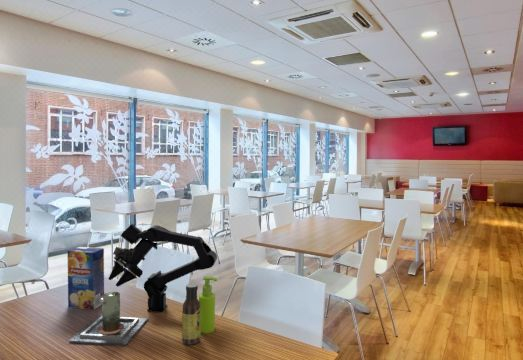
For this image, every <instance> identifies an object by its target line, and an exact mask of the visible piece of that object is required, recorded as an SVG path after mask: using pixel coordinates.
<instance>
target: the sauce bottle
mask: <svg viewBox="0 0 523 360" xmlns="http://www.w3.org/2000/svg"><path fill="white" fill-rule="evenodd" d="M198 288H199V287H198V284H196V283H188V284H186V285H185V291H186V296H185V300H184V302H183V303H182V311H181V312H182V313H181V314H182V319H181V320H182V324H181V326H182V327H181V328H182V329H181V335H182V336H181V337H182V340H181V341H182V343H183V344H184V345H194V344H195V345H196V344H197V343H199V341H200V340H201V332H200V319H201V315H200V313H201V306H200V302H199V298H198Z"/></svg>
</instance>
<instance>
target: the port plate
mask: <svg viewBox="0 0 523 360" xmlns="http://www.w3.org/2000/svg"><path fill="white" fill-rule="evenodd" d="M148 319H149V318H148V317H134V316H133V317H132V316H120V328H119V329H118V330H116V331H112V332H105V331H103V330H102V315H97V316H96V317H95V318H93V319H92V320H91V321H90V322H89V323H88V324H86V325H85V326H84V327H83V328H82V329H81V330H80V331H78V332H77V333H76V334H75V335H73V336H72V337H71V338H70V339H69V340H68V343H70V344H82V345H83V344H84V345H100V346H102V345H103V346H118V347H126V346H128V344H129V343H130V342H131V341H132V339H133V338H135V336H136V335H137V333H138V332H139V331H140V330H141V329H142V328H143V326H144V325H145V324H146V323H147V321H149V320H148Z"/></svg>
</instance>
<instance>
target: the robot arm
mask: <svg viewBox="0 0 523 360" xmlns="http://www.w3.org/2000/svg"><path fill="white" fill-rule="evenodd" d="M120 237H121V238H122V239H124V240H125V241H126V242H127V243H129V244H130V245H133V244H134V245H135V246H134V247H132V248H131V247H130V248H125V247H124V248H122V247H118V246H115V248H114V251H113V253H112V255H114V257H113V264H114V265H113V268H112V270H111V272H110V273H109V275H108V276H109V277H108V280H109V281H112V280H113V279H115V278H116V277H118V276H119V275H120V274H122V275H121V276H120V278H119V279H118V281H117V282H116V283H115V286H116V287H117V288H118V287H121V286H122V285H124V284H126V283H128V282H130V281H133V280H134V279H138V278H141V277H142V275H143V269H141V268H140V267H139V264H140V263H141V262H142V261H145V260H146V258H145V257H146V256H147V255H148V254H149V252H150V251H151V250H152V248H154V249H155V250H156V251H157V250H158V243H161V242H163V243H164V242H168V243H171V244H172V243H173V244H179V245H183V246H186V247H187V246H188V247H193V249H194V250H195V252H196V254H197V258H196V259H194V260H192V261H189V262H187V263H185V264H183V265H181V266H178V267H176V268H174V269H172V270H169V271H167V272H164V273H162V271H161V270H159V271H158V272H156V273H152V274H151V275H149V276H148V277H147V279H146V280H145V281H144V284H143V289H144V291H145V292H146V293H147V296H148V298H147V312H161V313H162V312H164V311H165V309H166V308H167V307H168V304H167V293H166V291H167V289H168V286H167V284H169V283H170V282H173V281H175V280H177V279H180V278H182V277H184V276H187V275H188V274H191V273H193V272H195V271H203V270H207V269H211V268H213V266H214V265H215V264H216V262H217V261H218V254H217V253H216V252H215V251H214V250H212V248H211V247H210V246H209V245H208V244H207V243H206V242H205V240H204V238H202V237H201V236H195V235H190V234H185V233H180V232H175V231H171V230H169V229H168V228H167V227H166V228H165V227H163V226H161V225H153V226H151V227H149V228H148V229H144V230H140V229H139V228H138V227H136V225H135V224H134V223H131V224H129V226H128V227H127V228H126V229H125V230H123V232H122V233H120Z"/></svg>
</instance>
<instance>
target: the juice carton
mask: <svg viewBox="0 0 523 360" xmlns="http://www.w3.org/2000/svg"><path fill="white" fill-rule="evenodd" d="M104 265H105V248H101V247H88V246H77V247H75V248H72V249H69V250H67V300H68V301H67V304H68V305H67V306H68V308H75V309H84V310H93V311H94V310H95V309H97V308H99V307H100V306H102V303H101V302H100V301H99V300H100V299H101V298H102V295H103V294H105V266H104Z"/></svg>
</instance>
